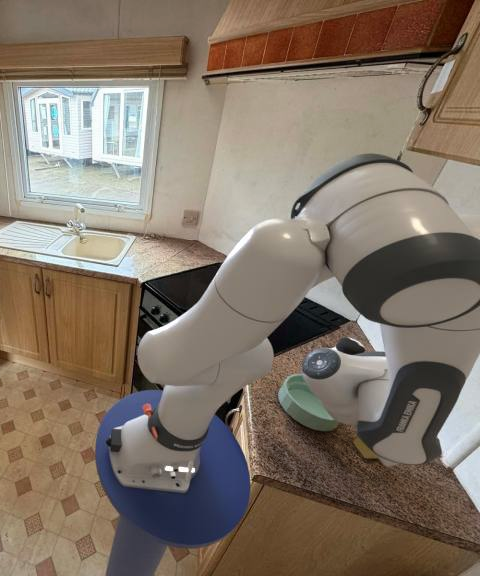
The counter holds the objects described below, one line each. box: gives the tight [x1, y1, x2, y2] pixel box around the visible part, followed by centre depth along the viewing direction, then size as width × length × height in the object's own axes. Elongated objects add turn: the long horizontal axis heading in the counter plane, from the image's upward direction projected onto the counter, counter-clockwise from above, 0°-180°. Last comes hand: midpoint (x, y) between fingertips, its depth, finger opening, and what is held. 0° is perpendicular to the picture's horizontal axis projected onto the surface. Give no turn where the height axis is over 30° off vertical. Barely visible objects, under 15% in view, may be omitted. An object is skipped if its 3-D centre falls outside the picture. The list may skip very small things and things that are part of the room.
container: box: [331, 336, 366, 355], centre depth 97 cm, size 8×8×13 cm
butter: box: [352, 436, 379, 460], centre depth 76 cm, size 4×4×8 cm
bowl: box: [277, 373, 341, 432], centre depth 86 cm, size 15×15×6 cm
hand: (366, 430), depth 72 cm, fingers open, 8 cm apart
